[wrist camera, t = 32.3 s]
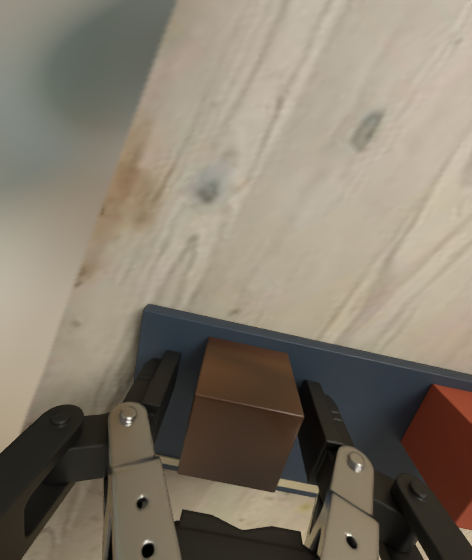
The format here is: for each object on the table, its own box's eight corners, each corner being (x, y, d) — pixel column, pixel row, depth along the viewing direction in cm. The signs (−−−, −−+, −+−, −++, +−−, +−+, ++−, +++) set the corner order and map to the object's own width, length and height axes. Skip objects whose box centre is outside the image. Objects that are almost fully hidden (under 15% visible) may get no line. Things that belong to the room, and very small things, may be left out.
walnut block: (194, 400, 14) (176, 474, 11) (208, 335, 13) (194, 393, 9) (267, 415, 15) (275, 493, 11) (288, 352, 13) (305, 416, 10)
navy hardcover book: (128, 448, 17) (122, 462, 16) (148, 303, 14) (142, 310, 13) (463, 514, 18) (474, 530, 17) (553, 392, 15) (572, 404, 14)
